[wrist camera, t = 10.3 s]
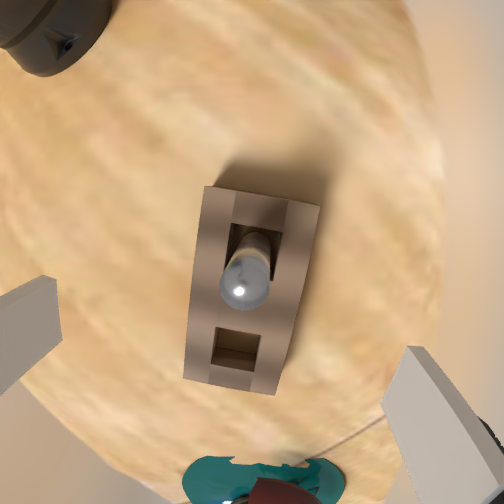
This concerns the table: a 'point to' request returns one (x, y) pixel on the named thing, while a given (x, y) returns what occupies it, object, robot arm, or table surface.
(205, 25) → the table surface
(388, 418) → the robot arm
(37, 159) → the table surface
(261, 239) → the peg
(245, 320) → the socket block
